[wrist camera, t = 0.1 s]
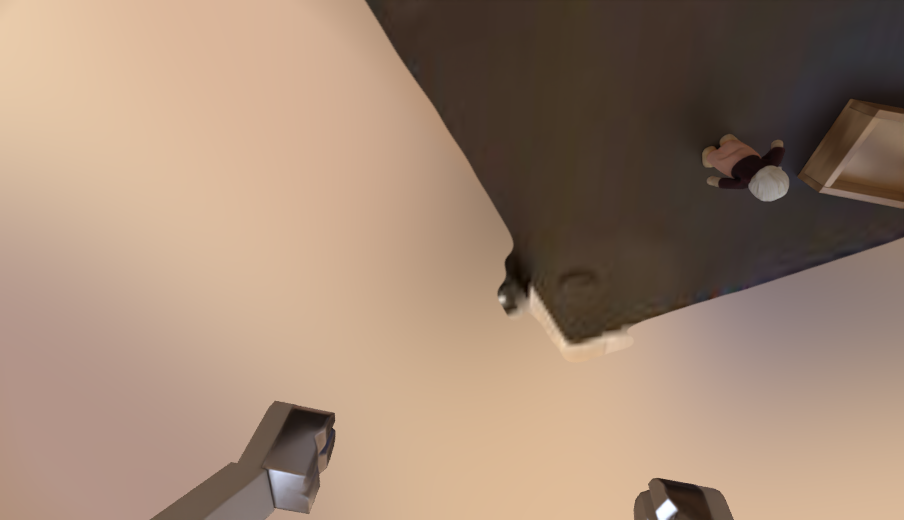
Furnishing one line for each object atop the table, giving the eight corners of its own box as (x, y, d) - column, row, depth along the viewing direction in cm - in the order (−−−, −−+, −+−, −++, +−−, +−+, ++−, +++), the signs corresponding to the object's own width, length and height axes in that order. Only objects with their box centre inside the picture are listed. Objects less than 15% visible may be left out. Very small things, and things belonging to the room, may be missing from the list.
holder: (850, 98, 47) (879, 109, 43) (970, 121, 47) (1010, 134, 43) (796, 176, 52) (818, 192, 49) (904, 197, 52) (934, 214, 48)
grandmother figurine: (706, 179, 54) (752, 228, 44) (686, 161, 53) (729, 206, 43) (763, 133, 50) (829, 174, 40) (744, 113, 49) (806, 149, 39)
